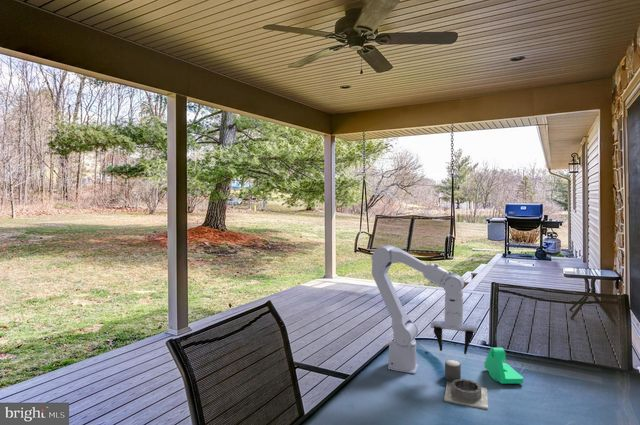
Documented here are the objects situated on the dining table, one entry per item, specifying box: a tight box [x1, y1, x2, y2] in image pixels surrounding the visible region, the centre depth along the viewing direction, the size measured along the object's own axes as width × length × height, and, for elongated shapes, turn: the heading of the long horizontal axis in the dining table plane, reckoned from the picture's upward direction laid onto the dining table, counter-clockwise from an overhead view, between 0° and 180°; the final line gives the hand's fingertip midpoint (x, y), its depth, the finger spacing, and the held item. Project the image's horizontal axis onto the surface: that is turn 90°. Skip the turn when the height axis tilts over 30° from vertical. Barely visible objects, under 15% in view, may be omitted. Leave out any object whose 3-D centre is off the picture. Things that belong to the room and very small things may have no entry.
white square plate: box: [443, 378, 489, 410], centre depth 118 cm, size 12×12×3 cm
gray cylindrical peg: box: [444, 359, 462, 382], centre depth 130 cm, size 5×5×5 cm
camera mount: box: [484, 347, 524, 384], centre depth 130 cm, size 12×8×10 cm, turn 1°
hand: (453, 351), depth 129 cm, fingers open, 7 cm apart
